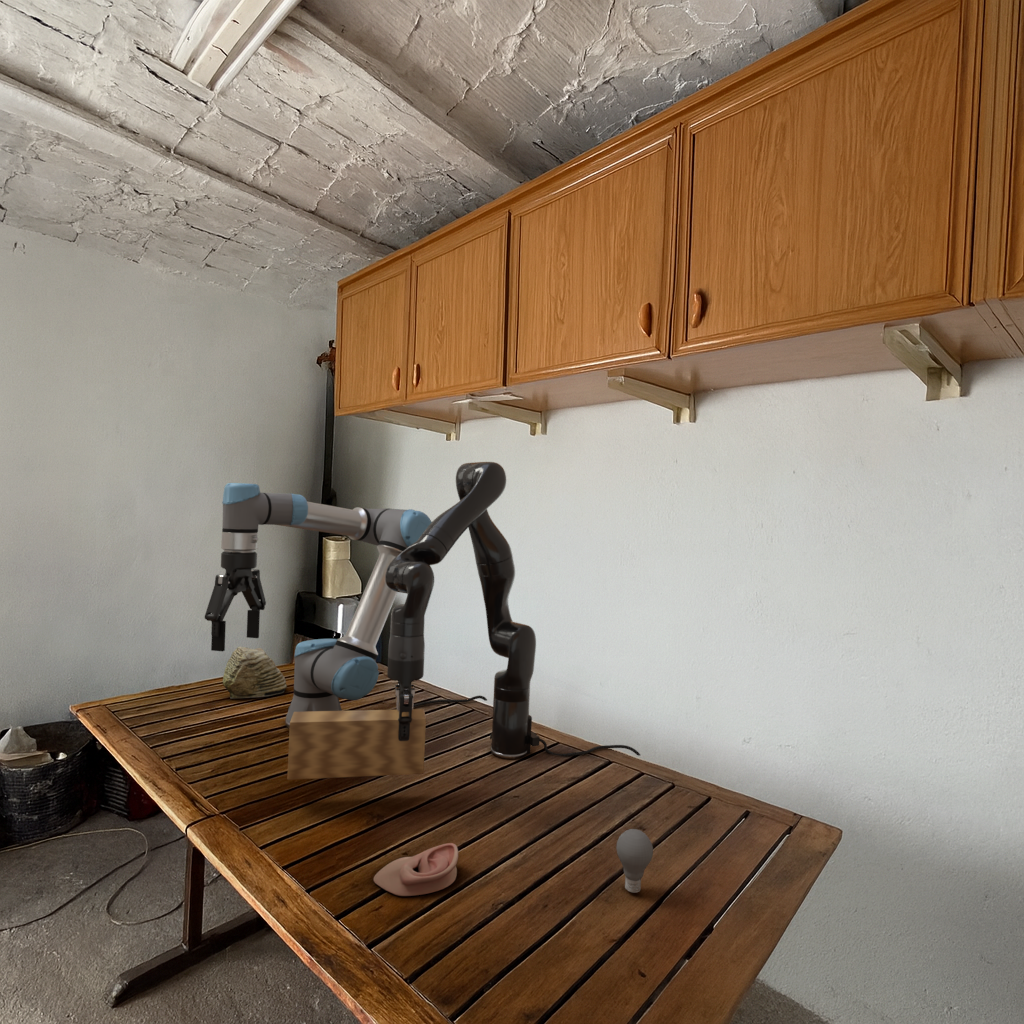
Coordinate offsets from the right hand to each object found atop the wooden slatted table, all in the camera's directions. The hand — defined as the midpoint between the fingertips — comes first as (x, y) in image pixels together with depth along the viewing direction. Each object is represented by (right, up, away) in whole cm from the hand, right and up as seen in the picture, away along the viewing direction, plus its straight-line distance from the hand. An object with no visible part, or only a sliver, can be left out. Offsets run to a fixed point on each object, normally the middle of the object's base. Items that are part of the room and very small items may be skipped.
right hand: (402, 733), depth 133 cm
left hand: (-40, +17, +11) cm, 45 cm away
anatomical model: (+7, -15, -26) cm, 31 cm away
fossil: (-58, -11, +65) cm, 88 cm away
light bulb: (+43, -17, -27) cm, 54 cm away
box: (-9, -7, -2) cm, 12 cm away
